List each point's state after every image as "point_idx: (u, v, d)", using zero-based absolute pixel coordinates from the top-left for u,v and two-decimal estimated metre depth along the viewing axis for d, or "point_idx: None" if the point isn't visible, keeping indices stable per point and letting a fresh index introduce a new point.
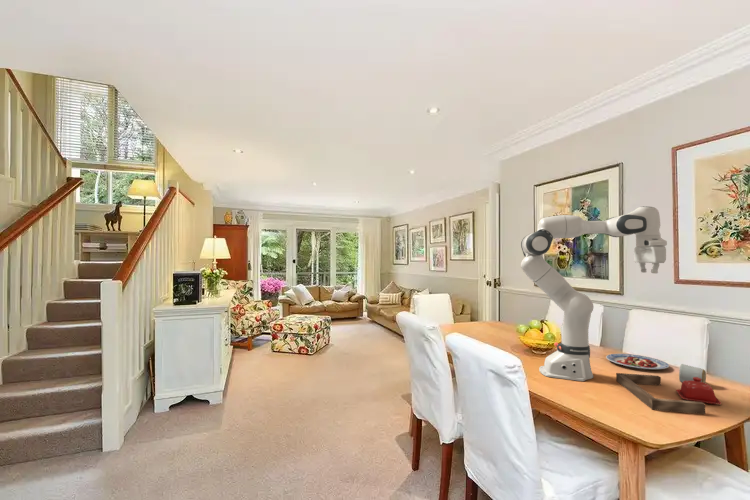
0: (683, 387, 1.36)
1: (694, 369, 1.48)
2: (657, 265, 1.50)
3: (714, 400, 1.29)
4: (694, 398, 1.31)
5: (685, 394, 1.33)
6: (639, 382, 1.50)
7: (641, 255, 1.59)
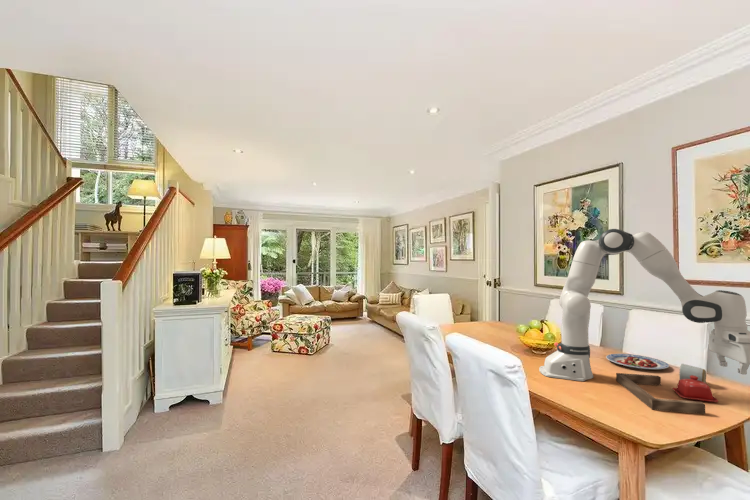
0: (680, 386, 1.37)
1: (694, 369, 1.49)
2: (746, 365, 1.25)
3: (711, 398, 1.31)
4: (692, 396, 1.33)
5: (683, 392, 1.35)
6: (639, 382, 1.50)
7: (721, 347, 1.34)
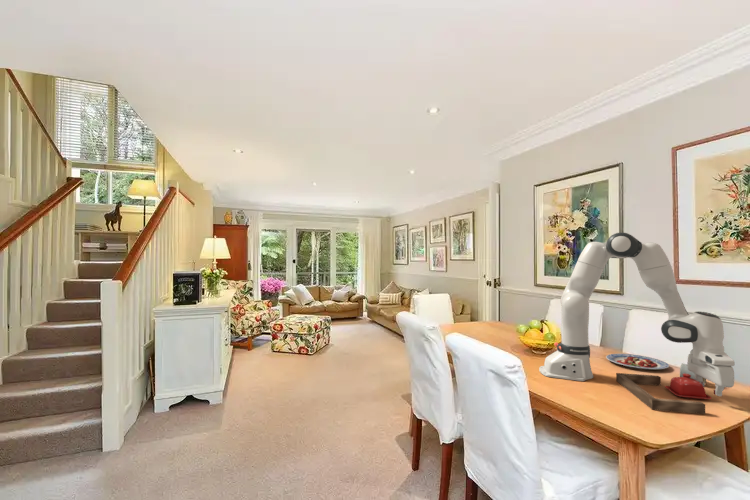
0: (674, 384, 1.39)
1: None
2: (722, 387, 1.27)
3: (705, 395, 1.33)
4: (687, 394, 1.34)
5: (678, 391, 1.36)
6: (639, 382, 1.50)
7: (699, 367, 1.36)
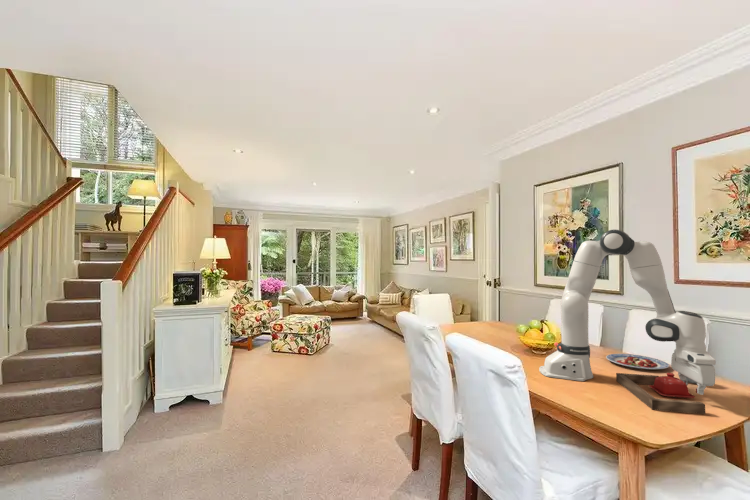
0: (659, 384, 1.39)
1: None
2: (703, 386, 1.28)
3: (688, 394, 1.34)
4: (671, 394, 1.35)
5: (662, 390, 1.37)
6: (639, 382, 1.50)
7: (682, 366, 1.37)
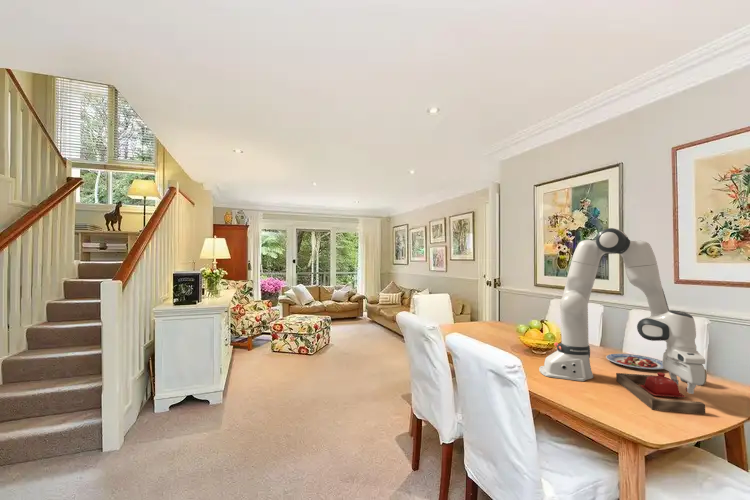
0: (650, 383, 1.40)
1: None
2: (693, 385, 1.29)
3: (679, 393, 1.35)
4: (662, 393, 1.36)
5: (653, 390, 1.38)
6: (639, 382, 1.50)
7: (673, 366, 1.38)
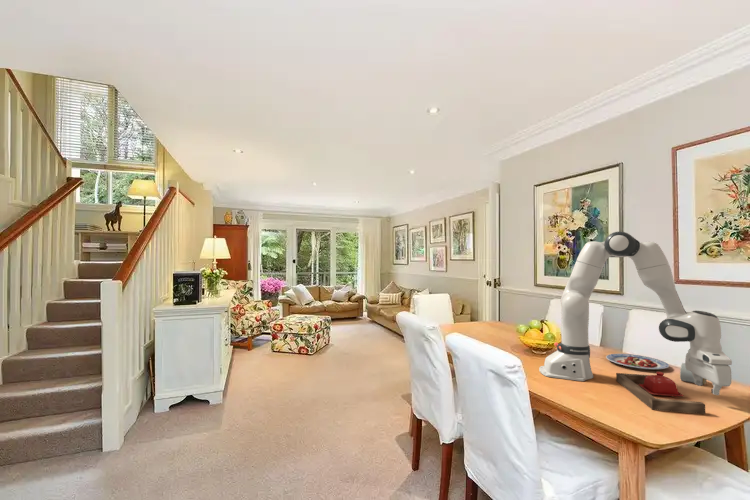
0: (648, 382, 1.41)
1: None
2: (719, 386, 1.27)
3: (677, 393, 1.36)
4: (660, 392, 1.37)
5: (652, 389, 1.39)
6: (639, 382, 1.50)
7: (696, 367, 1.36)
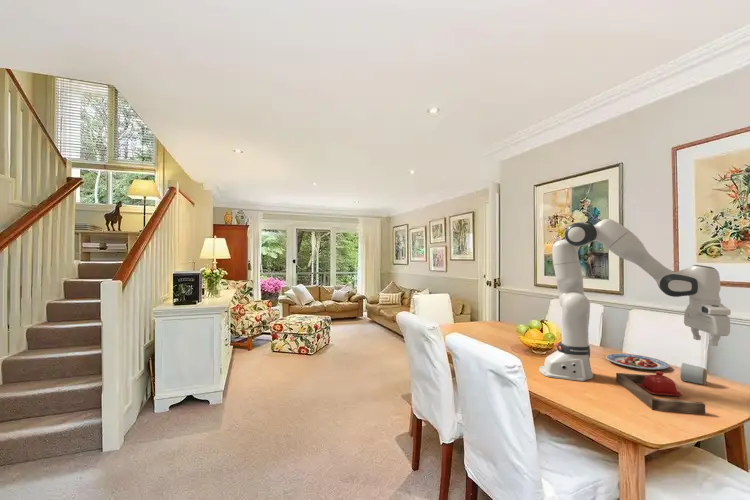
0: (648, 382, 1.42)
1: (695, 368, 1.50)
2: (718, 337, 1.27)
3: (676, 392, 1.36)
4: (660, 392, 1.37)
5: (651, 388, 1.39)
6: (639, 382, 1.50)
7: (695, 320, 1.36)
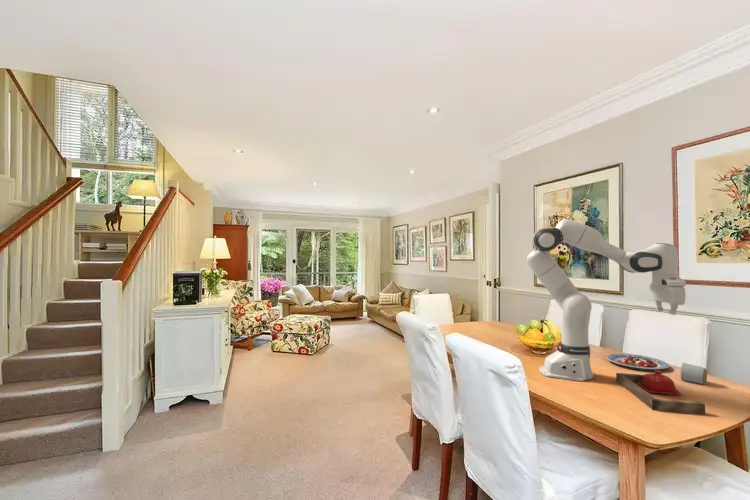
0: (647, 381, 1.43)
1: (695, 368, 1.50)
2: (675, 306, 1.43)
3: (675, 391, 1.38)
4: (658, 390, 1.39)
5: (650, 387, 1.41)
6: (639, 382, 1.50)
7: (658, 293, 1.52)
